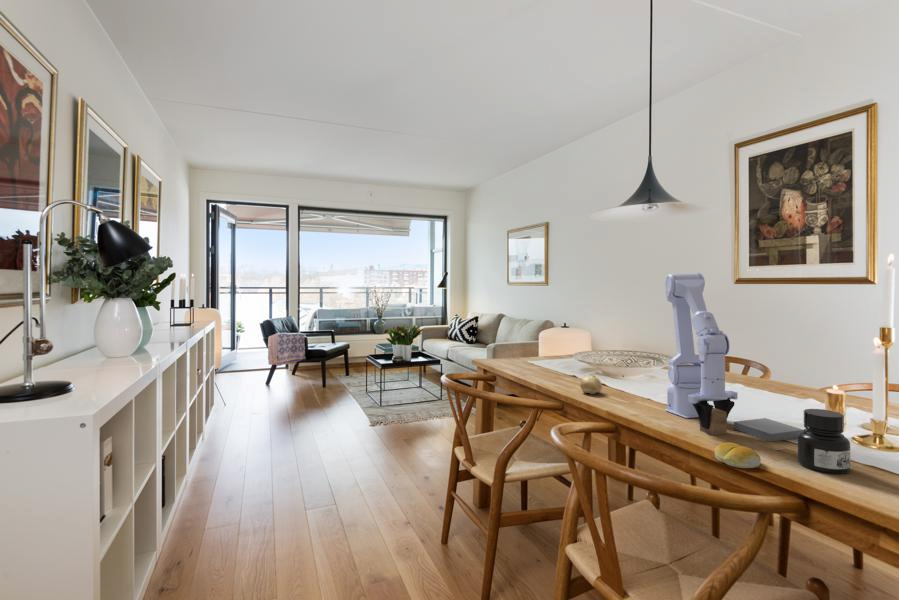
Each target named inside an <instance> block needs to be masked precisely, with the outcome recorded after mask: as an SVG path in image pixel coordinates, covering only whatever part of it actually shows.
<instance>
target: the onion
mask: <svg viewBox="0 0 899 600" xmlns="http://www.w3.org/2000/svg"><path fill="white" fill-rule="evenodd" d="M579 385H580V389H581V391H582V393H583V392H585V393H584V394H586V393H590V394H589V395H593V394H594V395H596V394H599V393H601V391H602V389H603V384H602V381H601V380H600V379H599V378H598V377H596V375H595V374H591V373H590V376H586V377H583V378H582V380H581V381H580V383H579Z"/></svg>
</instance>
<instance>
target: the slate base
mask: <svg viewBox="0 0 899 600" xmlns="http://www.w3.org/2000/svg"><path fill="white" fill-rule="evenodd" d="M733 430H735V431H736V430H737V431H740V432H741V433H744V434H748V435H751V436H752V437H756V438H759V439H762V440H764V441H766V442H767V441H768V442H770V443H772V442H779V441H787V440H794V438H795V439H798V434H799V432H801V431H803V430H804V429H803V428H800V427H796V426H794V425H793V426H792V425H789V424H787V423H783V422H779V421H778V420H777V421H776V420H773V419H770V418H766V417H763V418H755V419H747V420H738V421H737V420H735V421H733Z"/></svg>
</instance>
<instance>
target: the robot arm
mask: <svg viewBox="0 0 899 600" xmlns="http://www.w3.org/2000/svg"><path fill="white" fill-rule="evenodd" d="M705 281H706V280H705V277H704V275H703V274H702V273H701V272H697V273H669V274H668V275H667V276H666V278H665V283H664V284H665V285H664V287H665V296H666V301H668V302H669V303H671V306H672V312H673V313H672V314H673V323H674V324H673V325H674V332H675V333H674V334H675V344H676V355H675V356H673V357H672V358H671V359H670V360H669V361H668V370H667V374H668V380H669V382H670V385H669V386H668V387H667V390H666V406H667V408H665V409H664V411H666V412H669V413H671V414H673V415H675V416H676V415H677V416H679V417H682V418H683V419H684V418H685V419H693V418H698V419H699V424H700V423H701V426H702V427H703V428H706V429H709V428H710V417H711V412H712V409H713V408H716V409H719V410H722V411H725V412H727V419H728V417H729V414H730V413H731V411H732V409H733V408H734V406H735V401H734V400H738V391H733V390H726V355H728V353H729V352H730V346H731V345H730V340H729V337H728V335H727V334H726V333H724V331H723V330H721V329H720V328H719V325H718V324H717V321H716V319H715V317H714V314H713V313H712V312H710V311H708V309H707V307H706V306H707V305H706V303H705V298H704V295H703V294H704V290H705ZM691 312H692V314H693V316H692V315H691ZM693 330H694V331H695V334H696V337H697V341H696V349H697V352H698V355H697V354H696V353H695V342H694V333H693ZM710 402H712V403H713V404H709V403H710Z"/></svg>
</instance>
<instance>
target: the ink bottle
mask: <svg viewBox="0 0 899 600" xmlns="http://www.w3.org/2000/svg"><path fill="white" fill-rule="evenodd" d="M844 422H845V415H844V414H843V413H841V412H838V411H833V410H829V409H822V408H806V409H804V410H803V427H804V429H803V431H801V432H799V434H798V438H797V462H798V463H799V465H802V466H804V467H806V468H808V469H811V470H813V471H815V472H816V471H817V472H820V473H825V474H826V473H827V474H838V475H839V474H847V473H849V472H850V471H851V442H850V440H849V439H848V438H847V437H846V436H845V435H844V434H843V433H844V429H845V423H844Z"/></svg>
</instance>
